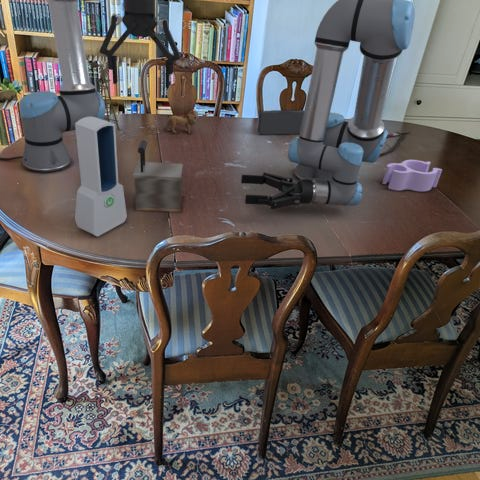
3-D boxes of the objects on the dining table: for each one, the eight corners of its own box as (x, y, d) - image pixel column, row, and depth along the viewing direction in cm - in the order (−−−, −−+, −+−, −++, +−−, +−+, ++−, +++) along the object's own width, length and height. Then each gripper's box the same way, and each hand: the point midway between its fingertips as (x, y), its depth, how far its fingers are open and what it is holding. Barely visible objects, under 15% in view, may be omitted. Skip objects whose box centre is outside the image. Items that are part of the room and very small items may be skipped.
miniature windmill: (110, 136, 185) (105, 57, 169) (90, 133, 186) (84, 54, 170) (120, 129, 193) (116, 52, 177) (100, 125, 194) (95, 49, 178)
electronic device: (94, 238, 124) (84, 130, 108) (75, 229, 127) (62, 122, 111) (127, 220, 133) (123, 118, 117) (108, 212, 136) (101, 111, 120)
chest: (135, 209, 139) (134, 178, 134) (139, 194, 147) (138, 164, 142) (180, 211, 141) (181, 180, 135) (181, 197, 149) (182, 166, 143)
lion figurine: (195, 128, 201) (196, 108, 196) (199, 133, 197) (200, 112, 192) (162, 130, 196) (162, 108, 191) (164, 134, 192) (165, 113, 187)
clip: (395, 193, 165) (400, 176, 161) (376, 178, 175) (380, 161, 171) (440, 190, 171) (447, 172, 167) (419, 175, 181) (425, 158, 177)
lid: (132, 177, 134) (131, 149, 129) (136, 164, 142) (135, 137, 137) (181, 180, 135) (182, 152, 130) (182, 166, 143) (183, 139, 138)
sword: (405, 131, 224) (406, 128, 224) (410, 133, 222) (411, 130, 222) (362, 142, 208) (362, 140, 208) (367, 144, 206) (368, 142, 206)
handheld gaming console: (303, 131, 211) (307, 109, 206) (306, 133, 209) (310, 111, 204) (256, 132, 204) (259, 110, 199) (258, 135, 202) (261, 112, 197)
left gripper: (83, -9, 108) (90, 84, 120) (190, 2, 111) (188, 91, 122) (89, -12, 115) (96, 77, 126) (191, -2, 117) (188, 84, 129)
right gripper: (317, 222, 137) (246, 220, 134) (301, 184, 157) (239, 181, 155) (322, 200, 132) (248, 196, 130) (305, 164, 153) (241, 160, 151)
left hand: (141, 84), depth 124 cm, fingers open, 13 cm apart
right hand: (243, 188), depth 142 cm, fingers open, 13 cm apart
